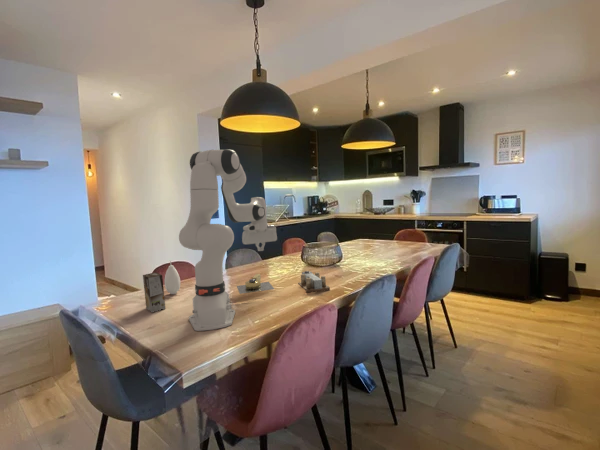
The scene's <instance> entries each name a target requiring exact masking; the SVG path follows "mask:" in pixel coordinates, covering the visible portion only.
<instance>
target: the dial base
mask: <svg viewBox="0 0 600 450" xmlns="http://www.w3.org/2000/svg"><path fill="white" fill-rule="evenodd" d="M260 284H261V287H260V288H257V289H246V287H245V284H240V285H236V287H237V288H236V289H237V291H238V293H239V294H240V295H241V294H249V293H256V292H263V291H270V290H275V288H274V286H273V285H272V284H271V283H270V281H266V282H265V281H264V282H260Z"/></svg>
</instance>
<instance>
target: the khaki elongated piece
mask: <svg viewBox="0 0 600 450" xmlns="http://www.w3.org/2000/svg"><path fill="white" fill-rule="evenodd" d="M261 282H262V279H261V273H256V274H254V276H252V277H251V278H250V279H249V280H246V281H245V282H244V283H245V284H244V285H245V287H246V289H257V288H260V287H261V284H260V283H261Z"/></svg>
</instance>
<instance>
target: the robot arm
mask: <svg viewBox="0 0 600 450" xmlns="http://www.w3.org/2000/svg"><path fill="white" fill-rule="evenodd" d="M189 168H190V169H191V173H190V181H189V190H190V191H189V192H190V206H189V207H190V209H189V215H188V218H187V220H186V223H185V224H184V226H182V228H181V229H180V231H179V234H178V240H179V243H180V244H181V246H182V247H184V248H186V249H189V250H193V251H202V256H201V259H200V260H199V261H198V262H197V263H196V264H195V265H194V275H195V284H194V290H195V292H194V293H195V296H194V297H193V298H192V315H190V316H188V320H189V322H190V324H191V326H192V328H193V330H194V331H196V332H197V331H199V332H200V331H201V332H203V331H212V330H217V329H222V328H226V327H229V326H231V325H232V324H233V323H234V322H233V321H234V318H235V315H236V309H235V308H234V309H232V303H231V298H230V294H229V292H227V291H226V284H225V283H226V282H225V281H224V271H223V270H224V267H223V264H224V263H223V262H224V258H225V255H226V253H227V251H229V250H230V248H231V247H232V246H233V243H234V240H235V234H234V230H232V227H230V226H229V225H225V224H221V223H211V220H212V217H213V215H214V214H215V213H216V212H218V210H219V208H220V205H219V204H220V203H219V202H220V201H219V183H218V176H220V178H221V180H222V183H221V186H220V190H221V195H222V198H223V200H224V203H225V206H226V209H227V216H228V219H229V220H230V221H231V222H232V223H235V224H236V223H243V222H246V223H248V222H250V223H249V224H247V225H244V226H243V227H242V230H243V232H242V235H241V239H242V240H241V242H242V244H243V245H255V247H256V248H257V251H258V252H263V251H265V249H264V248H265V245H266V243H270V242H276V241H278V236H277V235H278V233H277V227H276V225H273V224H270V225H268V219H267V204H266V200H265V198H264V197H261V196H254V197H251V198H250V202H249V203H238V202H236V198H235V195H234V194H235V193H237V192H239V191H240V190H241V189H244V186H245V184H246V183H247V175H246V172H245V171H244V167H243V166H242V164H241V160H240V157H239V155H238V153H237V152H236V151H235V150H234V149H230V148H229V149H228V148H226V149H209V150H203V151H200V150H199V151H197V152H194V153H193V154H191V157H190V159H189ZM260 243H261V246H260Z"/></svg>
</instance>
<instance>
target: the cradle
mask: <svg viewBox="0 0 600 450" xmlns="http://www.w3.org/2000/svg"><path fill="white" fill-rule="evenodd" d="M314 275H315V276H317V277H318V278H320V279H322V288H321V289H313V288H312V287H311V278H305V274H302V273H301V274H300V282H297V284H298V285H299V286H300V287H301V288H302V289H304V290H305V293H306V294H313V293H320V292H327V291H330V290H331V289H330V286H329V285H327V283H326V282H327V281H326V280H327V279H326V275H321V276H320V272H314Z"/></svg>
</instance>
